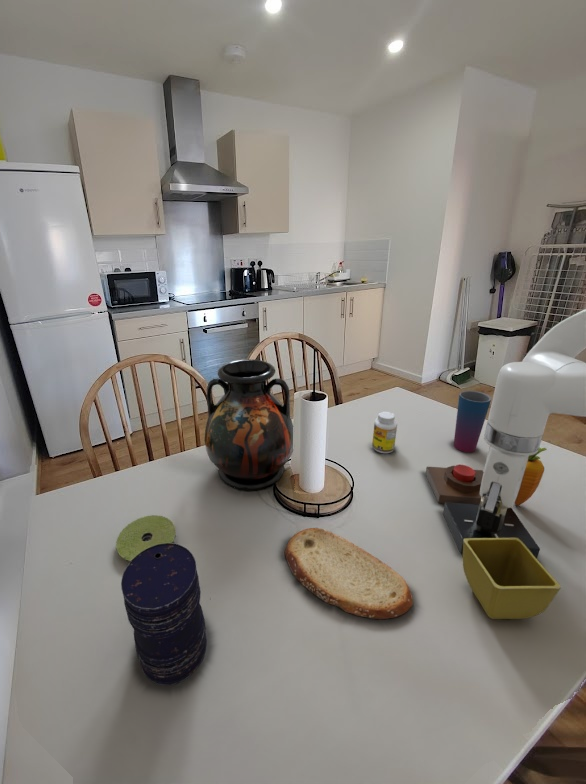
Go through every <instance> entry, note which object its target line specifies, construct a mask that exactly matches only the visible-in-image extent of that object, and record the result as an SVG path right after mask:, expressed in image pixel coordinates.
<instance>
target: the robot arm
mask: <svg viewBox="0 0 586 784" xmlns="http://www.w3.org/2000/svg"><path fill="white" fill-rule="evenodd" d="M584 350H586V308H584V309H582V310H580V311H578V312H576V313H575V314H573V315H571V316H569V317H567V318H565V319H563V320H561V321H560V322H558V323H557V324H555V325H554V326H553V327H551V328H550V329H549V330H548V331H547V332H546V333H545V334H544V335H542V337H541V338H540V339H539V340H538V341H537V342H536V343H535V344H534V345H533V346H532V348H531V349H529V351H528V352H527V353H526V355H525V357H524V358H523V359H522V360H521V361H511V362H509V363H506V364H503V366H502V367H501V368H500V369H499V372H498V374H497V378H496V381H495V387H494V392H493V396H492V398H491V403H490V407H489V408H490V409H489V413H488V417H487V421H486V425H485V430H484V434H483V441H485V443H486V444H487V445H489V448H488V451H487V455H486V460H485V465H484V468H483V472H484V473H483V477H482V482H481V488H480V496H481V497H482V498H483V497H484V500H483V503H482V506H481V507H480V510H479V514H478V518H477V522H476V524H477V525H478V526H480V527H482V528H485V529H487V530H489V531H492V532H494V533H496V532H497V530H498V527H499V523H500V520H501V516H502V514H500V513H501V509H502V506H506V507H508V508H513V507H514V505H515V500H516V497H517V495H518V492H519V489H520V486H521V482H522V479H523V475H524V472H525V469H526V465H527V461H528V457H529V456H530V455H534V454H536V453H537V452H538V450H539V447H540V446H541V443H542V440H543V436H544V432H545V429H546V426H547V423H548V419H549V416H550V415H551V414H558V415H559V414H560V415H567V416H573V417H574V416H575V417H585V418H586V362H585V361H582V360H580V359H577V358H576V357H577V356H578V355H579V354H580V353H582V352H583V351H584ZM496 503H499V505H498V508H497V507H496V506H495V505H496Z"/></svg>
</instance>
